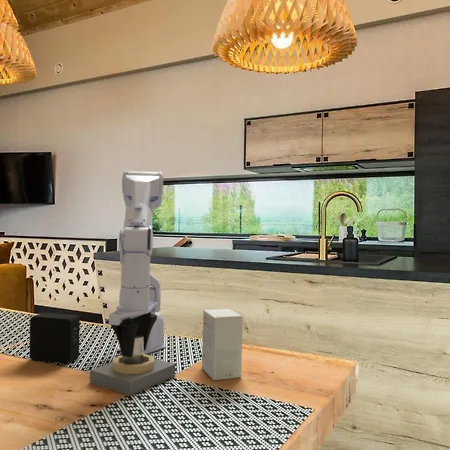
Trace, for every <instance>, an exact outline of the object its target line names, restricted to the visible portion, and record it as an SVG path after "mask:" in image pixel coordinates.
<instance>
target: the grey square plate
mask: <svg viewBox="0 0 450 450" xmlns="http://www.w3.org/2000/svg"><path fill="white" fill-rule="evenodd" d="M174 377H176V364H175V363H172V362H168V361H165V360H161V359H157V358H155V357H154V356H153V355H150V354H144V361H143V362H141V363H139V364H124V363H122V354H121V355H119V356H116V357H113V362H109V363H106V364H105V365H101V366H97V367H95V368H92V369H90V370H89V383H91V384H94V385H96V386H99V387H102V388H106V389H108V390H111V391H114V392H118V393H121V394H124V395H126V396H133V395H135V394H137V393H139V392H142V391H144V390H146V389H149V388H151V387H153V386H155V385H158V384H160V383H162V382H164V381H167V380H169V379H172V378H174Z"/></svg>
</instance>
